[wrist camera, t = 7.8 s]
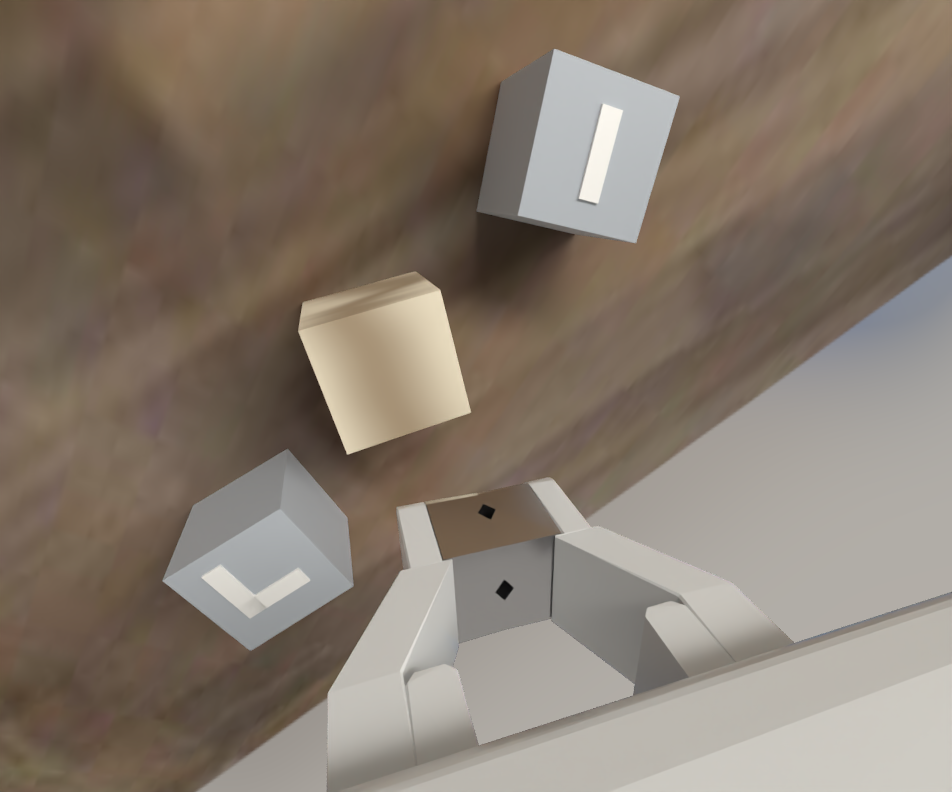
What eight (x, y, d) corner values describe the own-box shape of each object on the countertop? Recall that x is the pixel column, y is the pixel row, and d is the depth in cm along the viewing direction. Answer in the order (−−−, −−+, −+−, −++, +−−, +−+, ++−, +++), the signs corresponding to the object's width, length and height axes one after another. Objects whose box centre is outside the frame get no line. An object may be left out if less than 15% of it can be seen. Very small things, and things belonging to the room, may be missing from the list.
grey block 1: (287, 447, 22) (279, 510, 18) (347, 516, 25) (353, 587, 20) (193, 504, 22) (161, 582, 18) (262, 569, 24) (250, 653, 20)
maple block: (414, 270, 21) (440, 289, 17) (442, 372, 23) (470, 412, 19) (302, 302, 20) (297, 330, 16) (341, 404, 22) (347, 454, 18)
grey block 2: (604, 117, 21) (681, 95, 17) (574, 234, 23) (637, 243, 18) (500, 82, 19) (555, 47, 15) (476, 211, 21) (519, 215, 16)
